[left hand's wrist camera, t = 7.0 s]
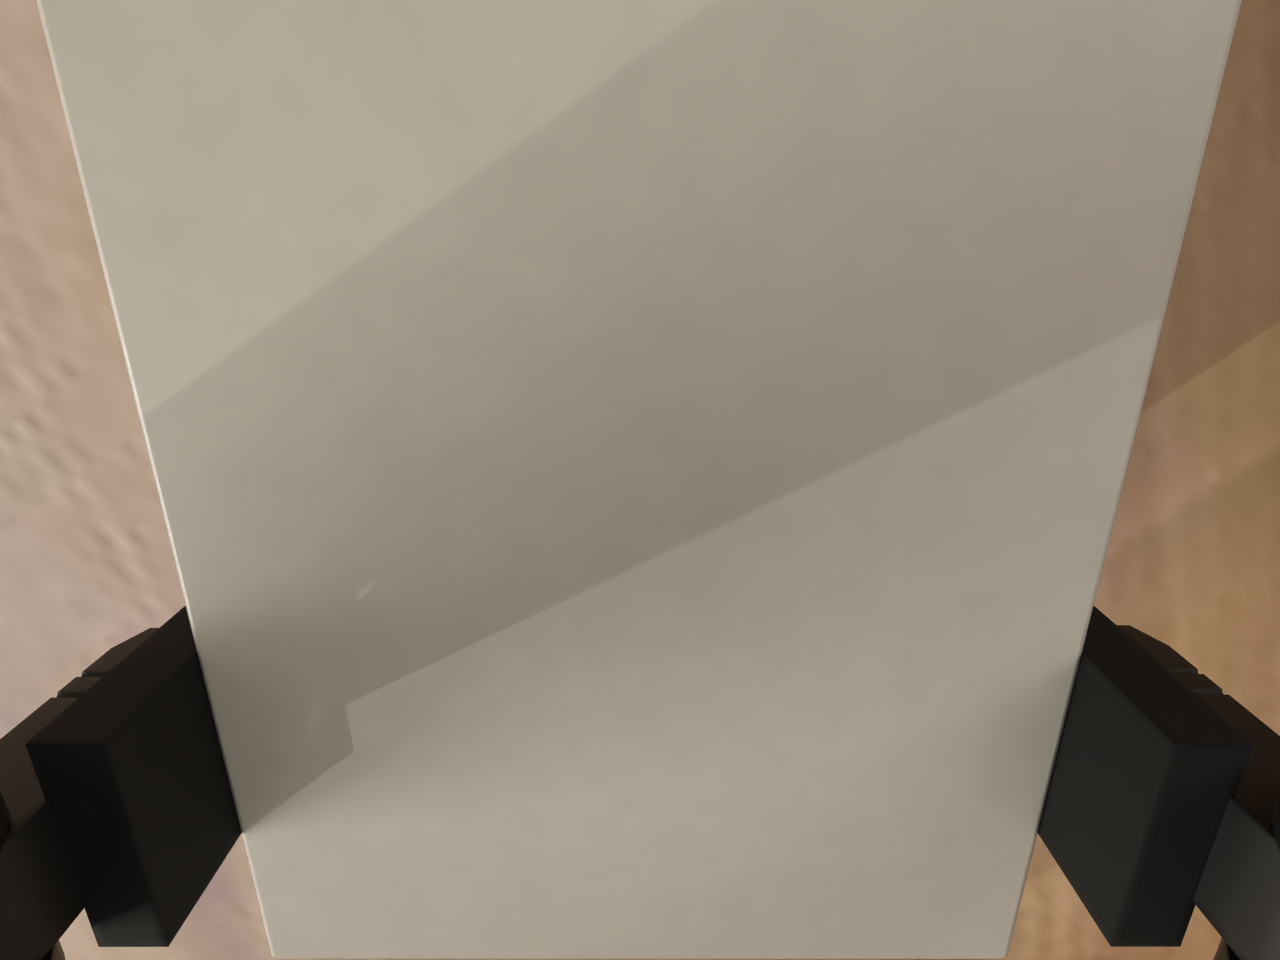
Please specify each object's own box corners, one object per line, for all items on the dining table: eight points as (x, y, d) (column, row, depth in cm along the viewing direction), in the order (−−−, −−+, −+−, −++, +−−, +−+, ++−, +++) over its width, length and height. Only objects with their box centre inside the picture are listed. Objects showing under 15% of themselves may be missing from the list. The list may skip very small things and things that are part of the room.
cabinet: (354, -191, 13) (-221, -1011, 4) (926, -191, 13) (1498, -1011, 4) (441, 617, 18) (270, 962, 10) (838, 617, 19) (1009, 961, 10)
